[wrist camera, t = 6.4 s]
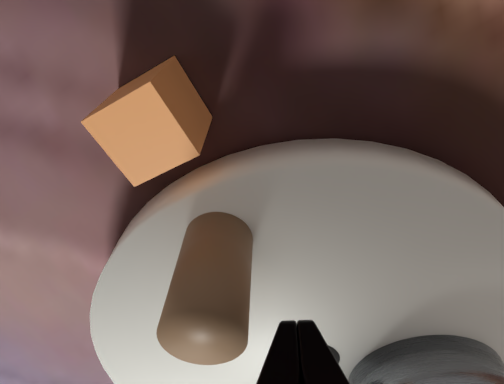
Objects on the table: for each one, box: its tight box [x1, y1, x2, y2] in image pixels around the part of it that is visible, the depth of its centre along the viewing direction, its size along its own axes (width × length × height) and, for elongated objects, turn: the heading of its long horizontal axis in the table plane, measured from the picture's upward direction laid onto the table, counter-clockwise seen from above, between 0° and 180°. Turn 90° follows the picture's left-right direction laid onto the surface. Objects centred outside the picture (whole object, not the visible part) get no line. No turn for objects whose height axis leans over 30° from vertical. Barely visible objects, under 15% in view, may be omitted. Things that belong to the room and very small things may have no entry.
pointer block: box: [81, 55, 213, 187], centre depth 12 cm, size 2×2×3 cm
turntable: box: [90, 138, 504, 384], centre depth 16 cm, size 20×20×6 cm
